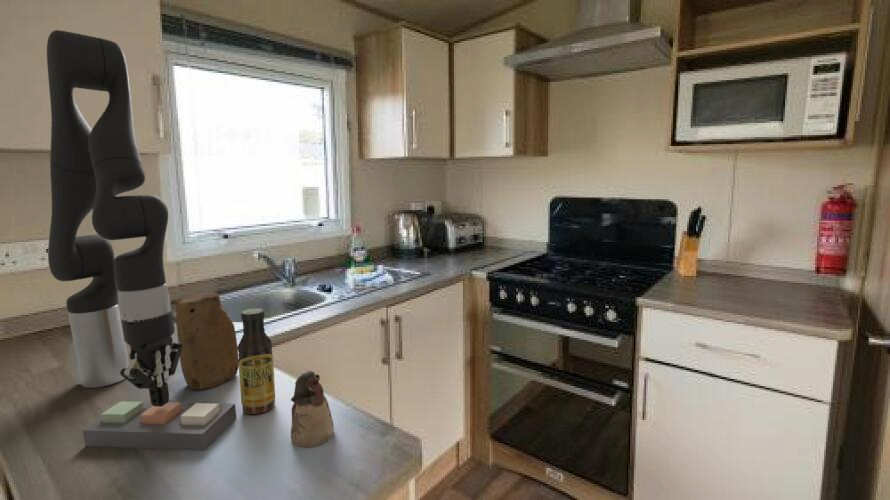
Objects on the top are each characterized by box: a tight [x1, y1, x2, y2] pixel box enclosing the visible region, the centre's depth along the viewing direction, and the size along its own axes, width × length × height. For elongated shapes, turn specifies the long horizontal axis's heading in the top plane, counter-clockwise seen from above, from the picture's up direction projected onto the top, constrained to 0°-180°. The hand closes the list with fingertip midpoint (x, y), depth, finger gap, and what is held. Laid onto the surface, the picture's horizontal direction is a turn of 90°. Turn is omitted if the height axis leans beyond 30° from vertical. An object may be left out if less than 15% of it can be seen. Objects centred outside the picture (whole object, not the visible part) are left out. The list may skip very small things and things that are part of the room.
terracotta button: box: [141, 402, 182, 424], centre depth 84 cm, size 4×4×2 cm
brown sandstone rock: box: [174, 291, 239, 390], centre depth 103 cm, size 11×8×20 cm
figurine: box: [290, 370, 335, 448], centre depth 81 cm, size 7×7×12 cm
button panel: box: [82, 400, 237, 451], centre depth 84 cm, size 22×10×3 cm, turn 84°
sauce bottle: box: [237, 307, 276, 415], centre depth 90 cm, size 6×6×20 cm
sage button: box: [100, 401, 144, 423], centre depth 85 cm, size 4×4×2 cm
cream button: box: [180, 402, 220, 425], centre depth 83 cm, size 4×4×2 cm
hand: (160, 404), depth 84 cm, fingers closed
